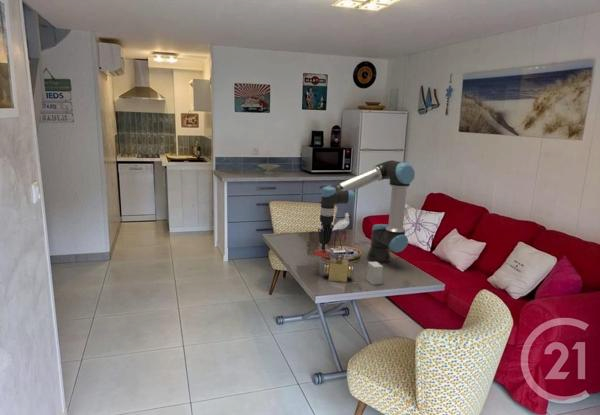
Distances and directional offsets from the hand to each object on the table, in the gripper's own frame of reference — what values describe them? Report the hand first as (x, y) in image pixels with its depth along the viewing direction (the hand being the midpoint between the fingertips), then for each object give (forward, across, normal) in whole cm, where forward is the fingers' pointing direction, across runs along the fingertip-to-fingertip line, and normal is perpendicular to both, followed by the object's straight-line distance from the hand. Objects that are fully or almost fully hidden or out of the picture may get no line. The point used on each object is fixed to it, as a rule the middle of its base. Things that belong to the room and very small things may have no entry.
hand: (323, 254), depth 236 cm
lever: (0, +2, +5) cm, 5 cm away
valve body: (+11, 0, +11) cm, 15 cm away
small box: (+11, -10, +28) cm, 32 cm away
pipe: (+11, 0, +11) cm, 15 cm away
